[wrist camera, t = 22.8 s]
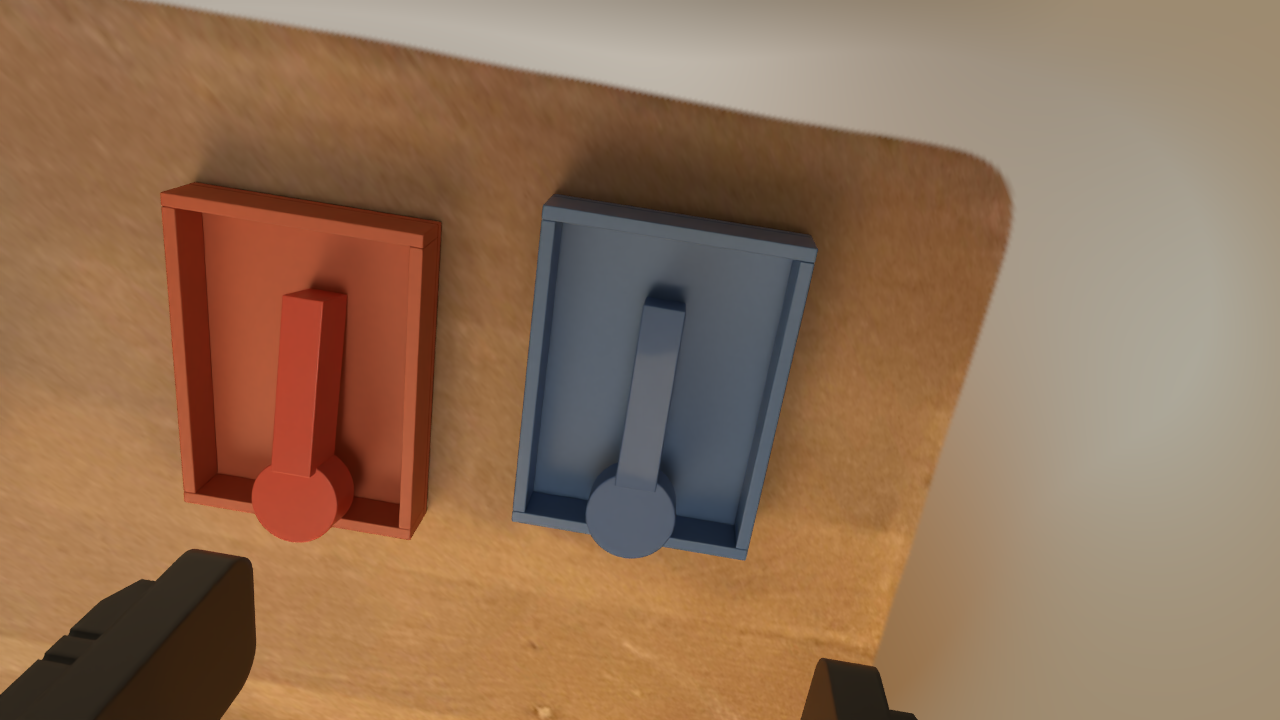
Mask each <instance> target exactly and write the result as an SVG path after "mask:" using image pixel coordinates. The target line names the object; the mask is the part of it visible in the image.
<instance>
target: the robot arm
mask: <svg viewBox="0 0 1280 720" xmlns="http://www.w3.org/2000/svg"><path fill="white" fill-rule="evenodd" d="M255 650H256V628H255V606H254V583H253V568H252V564H251V562H250V560H249V559H248V558H245V557H240V556H234V555H228V554H222V553H217V552H211V551H205V550H199V549H191V550H188V551H187V552H185V553H184V554H183V555H182V556H181V557H180V558H178V559H177V560H176V561H175V562H174V563H173V564H172V565H171V566H170V567H169V568H168V569H167V570H166V571H165V572H164V573H163V574H162V575H161V576H160V577H159V578H158V579H157V580H156V581H150V580H144V579H141V580H139V581H137V582H135V583H133V584H132V585H130V586H128V587H126V588H124V589H122V590H120V591H118V592H117V593H115V594H113V595H111V596H109V597H107V598H105V599H103V600H102V601H100V602H99V603H98V604H97V605H96V606H95V607H94V608H93V609H92V610H90V611H89V612H88V613H87V614H86V615H85V616H84V617H83V618H82V619H81V620H80V621H79V622H78V623H77V624H75V625H74V626H73V627H72V628H71V629H70V633H69V635H68V636H66V635H64V636H63V637H62V638H61V639H59V640H58V641H57V642H56V643H55V644H54V645H53V646H52V647H51V648H50V649H49V650H48V651H47V652H46V653H45V655H44V658H43V659H42V660H37V661H36V662H35V663H34V664H33V665H32V666H31V667H29V668H28V669H27V670H26V671H25V672H24V673H23V674H22V675H21V676H20V677H19V678H18V679H17V680H16V681H15V682H13V683H12V684H11V685H10V686H9V687H8V688H7V689H6V690H5V691H4V692H3V693H2V694H1V695H0V720H220V719H221V717H222V716H223V715H224V713H225V712H226V710H227V709H228V708H229V706H230V705H231V703H232V702H233V701H234V699H235V698H236V696H237V695H238V694H239V692H240V691H241V689H242V687H243V686H244V684H245V682H246V680H247V678H248V675H249V673H250V670H251V667H252V664H253V660H254V656H255ZM801 720H917V718H916V717H915V716H914V714H912V713H906V712H900V711H895V710H889V707H888V703H887V699H886V696H885V692H884V688H883V684H882V680H881V677H880V673H879V672H878V670H877V668H876V667H873V666H867V665H861V664H856V663H850V662H844V661H838V660H832V659H826V658H821V659H820V660H819V662H818V663H817V666H816V669H815V672H814V675H813V679H812V682H811V686H810V689H809V693H808V696H807V699H806V703H805V706H804V710H803V713H802V717H801Z"/></svg>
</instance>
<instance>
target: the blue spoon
mask: <svg viewBox="0 0 1280 720" xmlns="http://www.w3.org/2000/svg"><path fill="white" fill-rule="evenodd" d="M685 317H686V304H685V303H681V302H675V301H669V300H663V299H657V298H651V297H646V299H645V302H644V304H643V309H642V315H641V321H640V328H639V334H638V340H637V347H636V353H635V359H634V365H633V372H632V378H631V384H630V391H629V397H628V403H627V409H626V416H625V422H624V428H623V435H622V441H621V447H620V453H619V460H618V462H617V463H615V464H612V465H611V466H609V467H607V468H606V469H605V470H603V471H602V472H601V473H600V474H599V476H598V477H597V478H596V480H595V482H594V484H593V486H592V489H591V492H590V496H589V499H588V502H587V506H586V514H585V515H586V523H587V527H588V530H589V532H590V534H591V536H592V538H593V539H594V540H595V542H596V543H597V544H598V545H599V546H600V547H601V548H603V549H604V550H606V551H607V552H609V553H611V554H613V555H615V556H618V557H623V558H641V557H645V556H648V555H650V554H652V553H654V552H656V551H657V550H659V549H660V548H661V547H662V546H664V545H665V544H666V542H667V541H668V540H669V538H670V536H671V535H672V532H673V530H674V526H675V520H676V495H675V491H674V488H673V485H672V483H671V481H670V480H669V478H668V477H667V476H666V475H665V473H663V472H662V471H661V470H660V464H661V458H662V452H663V446H664V440H665V434H666V428H667V423H668V417H669V411H670V405H671V399H672V393H673V387H674V381H675V376H676V370H677V364H678V358H679V352H680V346H681V340H682V334H683V329H684V323H685Z"/></svg>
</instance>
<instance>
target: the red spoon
mask: <svg viewBox="0 0 1280 720" xmlns="http://www.w3.org/2000/svg"><path fill="white" fill-rule="evenodd" d="M346 306H347V294H342V293H336V292H330V291H324V290H318V289H312V288H309V289H305V290H301V291H297V292H293V293H289V294H285V295H283V296H282V311H281V326H280V341H279V356H278V371H277V386H276V401H275V416H274V431H273V446H272V461H271V464H270V465H268V466H267V467H266V468H264V469H263V470H262V471H261V472H260V474H259V475H258V476H257V478H256V480H255V482H254V485H253V488H252V506H253V509H254V512H255V515H256V517H257V518H258V520H259V522H260V523H261V524H262V526H263V527H264V528H265V529H266V530H268V531H269V532H270V533H271V534H273V535H274V536H276V537H278V538H280V539H283V540H285V541H290V542H308V541H312V540H315V539H317V538H319V537H321V536H322V535H323V534H325V533H326V532H327V531H328V530H329V529H330V528H331V527H332V526H333V525H334V524H336V523H337V522H338V521H339V520H340V519H341V518H342V517H343V516H344V515H345V514H346V513H347V511H348V510H349V508H350V506H351V504H352V501H353V496H354V485H353V480H352V477H351V474H350V472H349V470H348V468H347V467H346V466H345V464H344V463H343V462H342V461H341V460H340V459H339V458H338V457H337V456H335V455H334V451H335V439H336V427H337V415H338V403H339V391H340V378H341V366H342V354H343V342H344V330H345V318H346Z"/></svg>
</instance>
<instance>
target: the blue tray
mask: <svg viewBox="0 0 1280 720" xmlns="http://www.w3.org/2000/svg"><path fill="white" fill-rule="evenodd" d="M817 252H818V248H817V246H816V244H815V242H814V240H813V238H812V236H811V235H808V234H802V233H796V232H790V231H783V230H777V229H771V228H765V227H758V226H752V225H746V224H740V223H734V222H727V221H721V220H715V219H709V218H702V217H696V216H690V215H684V214H678V213H671V212H665V211H659V210H653V209H647V208H640V207H634V206H628V205H622V204H615V203H609V202H603V201H597V200H591V199H584V198H578V197H572V196H566V195H559V194H553V195H552V196H551V198H550V199H549V200H548V201H547V202H546V203H545V204H544V205H543V210H542V221H541V231H540V241H539V251H538V261H537V271H536V281H535V291H534V301H533V312H532V322H531V332H530V342H529V352H528V362H527V372H526V382H525V392H524V402H523V412H522V422H521V432H520V442H519V452H518V462H517V472H516V482H515V492H514V502H513V512H512V521H514V522H520V523H526V524H531V525H537V526H543V527H549V528H555V529H561V530H567V531H573V532H579V533H585V534H590V532H589V530H588V527H587V523H586V515H585V514H586V506H587V502H588V499H589V496H590V492H591V489H592V486H593V484H594V482H595V480H596V478H597V477H598V476H599V474H600V473H601V472H602V471H603V470H605V469H606V468H607V467H609V466H611V465H612V464H615V463H617V462H618V460H619V453H620V447H621V441H622V435H623V428H624V422H625V416H626V409H627V403H628V397H629V391H630V384H631V378H632V372H633V365H634V359H635V353H636V347H637V340H638V334H639V328H640V321H641V315H642V309H643V304H644V302H645V299H646V297H651V298H657V299H663V300H669V301H675V302H681V303H685V304H686V317H685V323H684V329H683V334H682V340H681V346H680V352H679V358H678V364H677V370H676V376H675V381H674V387H673V393H672V399H671V405H670V411H669V417H668V423H667V428H666V434H665V440H664V446H663V452H662V458H661V464H660V470H661V471H662V472H663V473H665V475H666V476H667V477H668V478H669V480H670V481H671V483H672V485H673V488H674V491H675V495H676V520H675V526H674V530H673V532H672V535H671V536H670V538H669V540H668V541H667V542H666V544H665V545H664V546H662V547H668V548H674V549H680V550H685V551H691V552H697V553H703V554H709V555H715V556H721V557H727V558H733V559H739V560H746V556H747V552H748V548H749V543H750V539H751V535H752V531H753V526H754V522H755V518H756V513H757V509H758V505H759V501H760V496H761V492H762V488H763V483H764V479H765V475H766V471H767V466H768V462H769V458H770V453H771V449H772V445H773V441H774V436H775V432H776V428H777V423H778V419H779V415H780V411H781V406H782V402H783V398H784V393H785V389H786V385H787V381H788V376H789V372H790V368H791V363H792V359H793V355H794V350H795V346H796V342H797V338H798V333H799V329H800V325H801V320H802V316H803V312H804V308H805V303H806V299H807V295H808V290H809V286H810V282H811V278H812V273H813V269H814V263H815V261H816V257H817Z"/></svg>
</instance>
